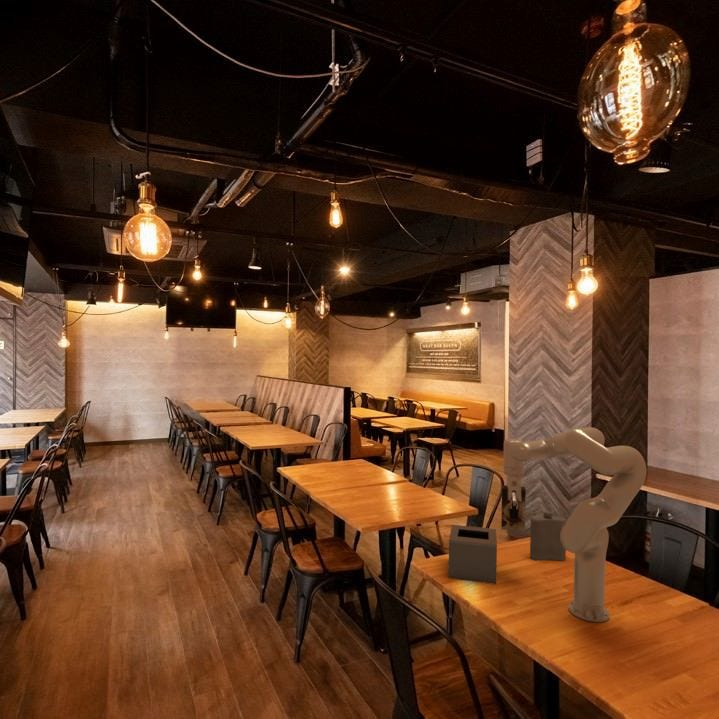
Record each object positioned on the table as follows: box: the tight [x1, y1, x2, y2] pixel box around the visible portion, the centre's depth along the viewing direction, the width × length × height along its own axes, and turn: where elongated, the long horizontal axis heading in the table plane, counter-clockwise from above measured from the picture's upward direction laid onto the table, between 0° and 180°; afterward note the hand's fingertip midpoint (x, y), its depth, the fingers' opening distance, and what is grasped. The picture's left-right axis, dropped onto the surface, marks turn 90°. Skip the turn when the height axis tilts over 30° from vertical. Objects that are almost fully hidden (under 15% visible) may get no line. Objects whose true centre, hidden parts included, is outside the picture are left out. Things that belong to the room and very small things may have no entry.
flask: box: [529, 510, 567, 562], centre depth 211 cm, size 15×6×20 cm, turn 90°
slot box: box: [448, 524, 498, 585], centre depth 196 cm, size 18×18×15 cm
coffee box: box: [500, 484, 527, 533], centre depth 192 cm, size 9×6×16 cm
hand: (513, 515), depth 192 cm, fingers closed on coffee box, 6 cm apart
